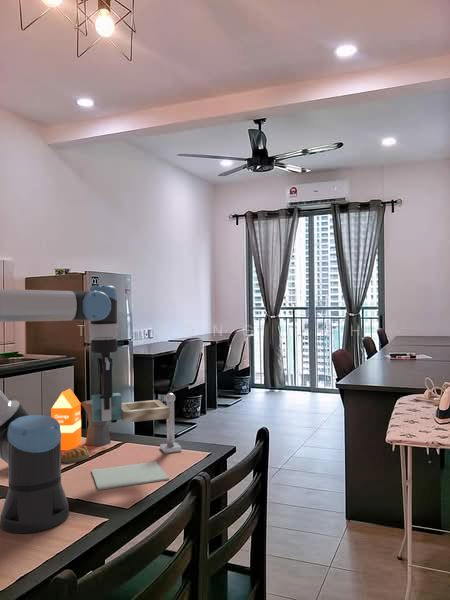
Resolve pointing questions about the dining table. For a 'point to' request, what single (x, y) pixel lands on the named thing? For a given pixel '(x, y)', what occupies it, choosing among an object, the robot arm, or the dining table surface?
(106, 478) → the mat
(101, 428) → the coffeepot
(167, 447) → the stand
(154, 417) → the sponge holder
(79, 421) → the orange juice
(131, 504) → the dining table surface
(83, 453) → the pastry
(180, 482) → the dining table surface
